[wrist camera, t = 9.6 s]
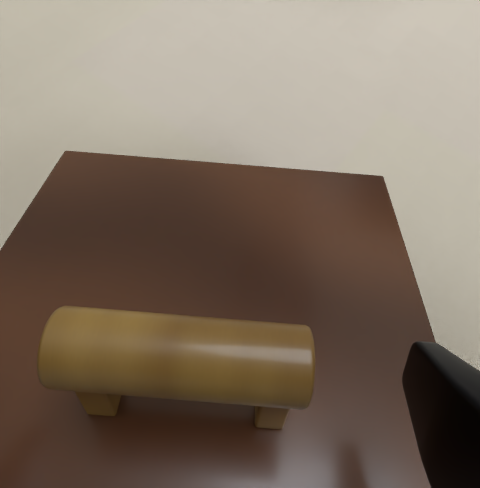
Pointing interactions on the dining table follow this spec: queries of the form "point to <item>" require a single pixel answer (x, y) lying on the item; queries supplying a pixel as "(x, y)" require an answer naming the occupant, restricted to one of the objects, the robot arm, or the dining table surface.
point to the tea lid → (207, 330)
